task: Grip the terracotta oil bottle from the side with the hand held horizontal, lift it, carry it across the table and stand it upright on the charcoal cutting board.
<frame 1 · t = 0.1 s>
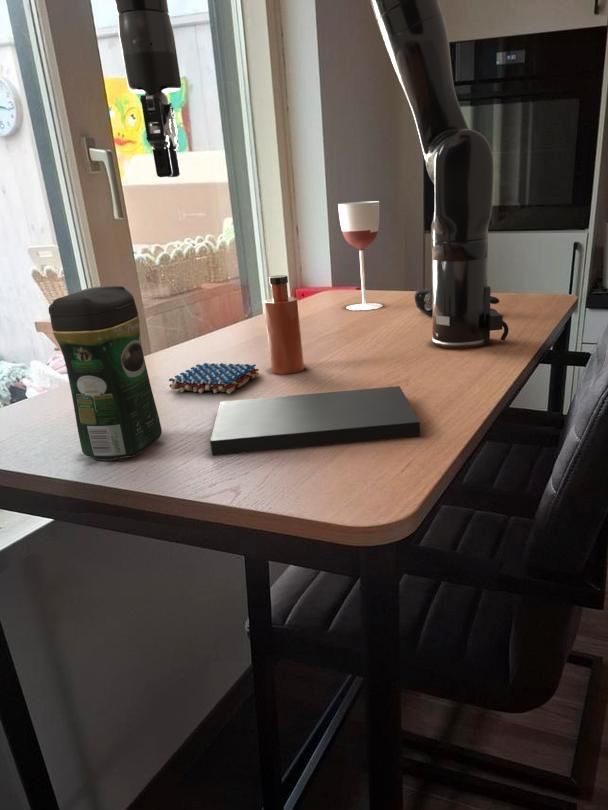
hand: (169, 177, 106), 29 cm above the table, tool pointing down, fingers open, 8 cm apart
woven mat: (216, 385, 107), on the table
cutting board: (314, 424, 87), on the table
coffee jar: (123, 449, 84), on the table
oil bottle: (287, 369, 112), on the table
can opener: (456, 316, 144), on the table
wineglass: (364, 307, 159), on the table
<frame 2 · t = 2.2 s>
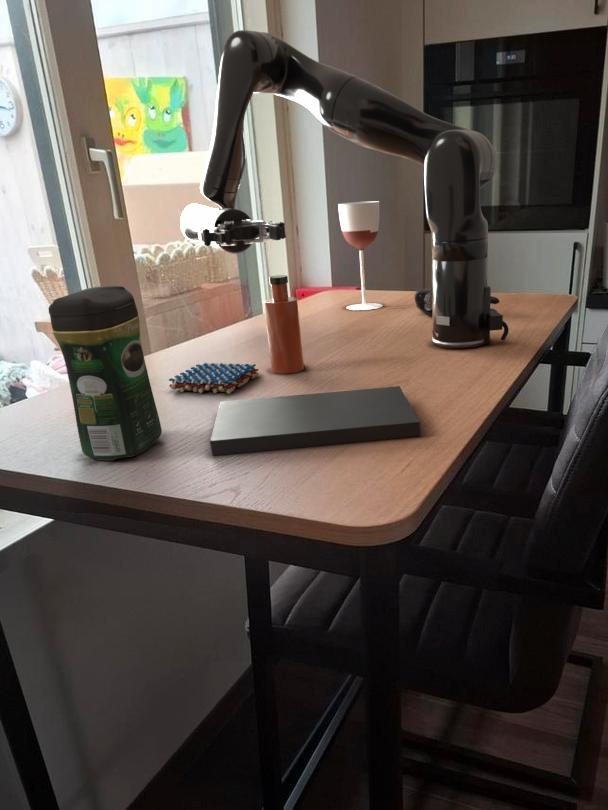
hand: (253, 235, 114), 20 cm above the table, tool horizontal, fingers open, 8 cm apart
nothing on the table moved.
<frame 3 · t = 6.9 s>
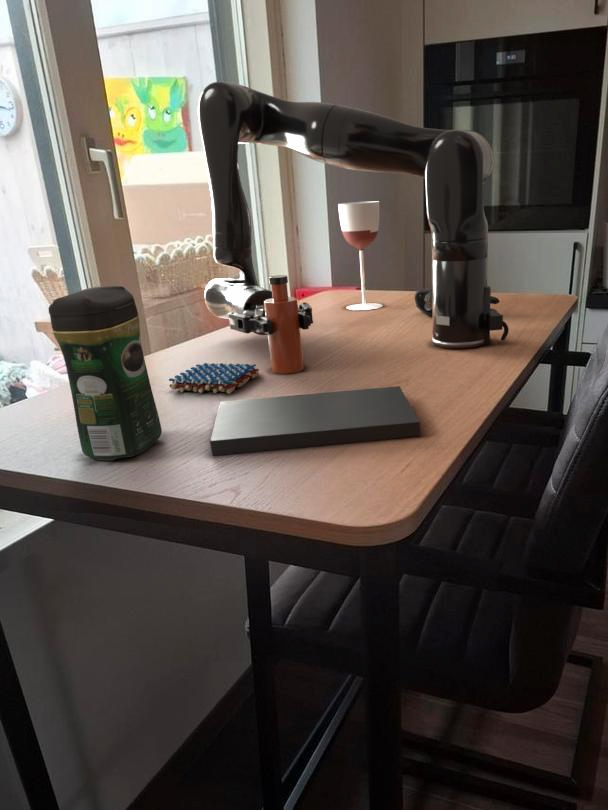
hand: (288, 325, 107), 8 cm above the table, tool horizontal, fingers closed on oil bottle, 5 cm apart
oil bottle: (287, 369, 112), on the table, touching gripper
everything else where it was.
when the fingers open (9 cm above the table, at t = 16.4 s): oil bottle stays where it is, resting on cutting board.
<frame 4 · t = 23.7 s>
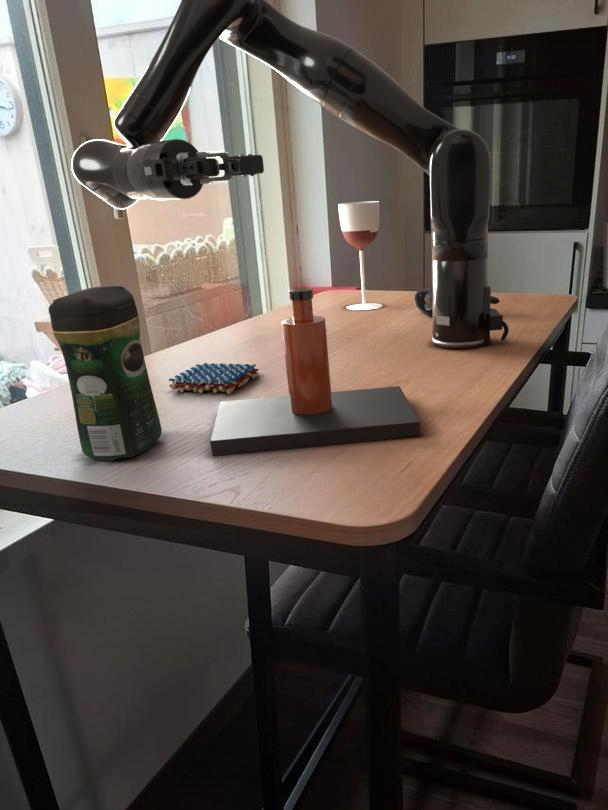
hand: (234, 165, 87), 30 cm above the table, tool horizontal, fingers open, 8 cm apart
oil bottle: (311, 408, 87), point 2 cm above the table, touching cutting board
everything else where it was.
at the end: oil bottle inside the target area on the cutting board (1.1 cm from its centre), point 1.8 cm above the cutting board's base; oil bottle tilted 0°; the gripper is holding nothing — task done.
